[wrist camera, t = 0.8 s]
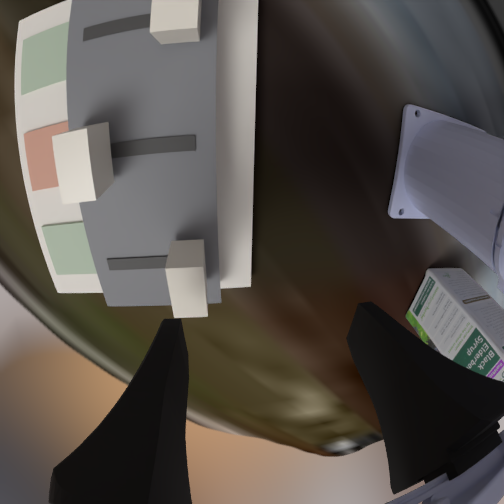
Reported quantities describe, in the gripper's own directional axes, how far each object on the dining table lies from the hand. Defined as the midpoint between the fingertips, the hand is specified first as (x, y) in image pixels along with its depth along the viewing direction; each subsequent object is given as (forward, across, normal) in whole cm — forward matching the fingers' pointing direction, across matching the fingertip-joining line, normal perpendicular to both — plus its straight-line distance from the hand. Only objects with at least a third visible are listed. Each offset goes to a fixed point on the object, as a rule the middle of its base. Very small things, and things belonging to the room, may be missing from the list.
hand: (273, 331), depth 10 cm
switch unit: (+8, +7, -6) cm, 12 cm away
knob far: (+5, +3, 0) cm, 6 cm away
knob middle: (+5, +7, -6) cm, 11 cm away
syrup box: (+9, -19, +7) cm, 22 cm away
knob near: (+5, +3, -12) cm, 13 cm away
